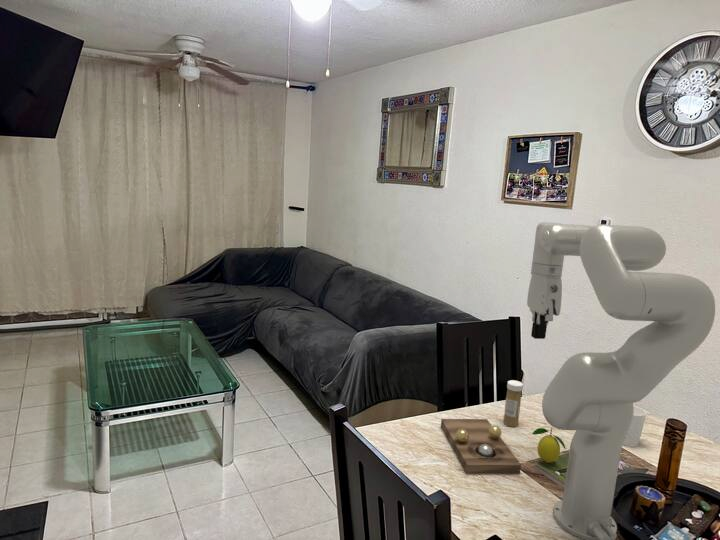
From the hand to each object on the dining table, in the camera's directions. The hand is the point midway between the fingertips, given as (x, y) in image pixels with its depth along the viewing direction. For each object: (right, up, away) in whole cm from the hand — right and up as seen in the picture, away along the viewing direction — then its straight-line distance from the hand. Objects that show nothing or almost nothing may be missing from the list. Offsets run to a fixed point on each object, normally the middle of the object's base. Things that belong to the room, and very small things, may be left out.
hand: (538, 337), depth 129 cm
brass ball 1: (-20, -27, +2) cm, 33 cm away
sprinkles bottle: (-1, -29, +19) cm, 35 cm away
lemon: (+2, -33, -1) cm, 33 cm away
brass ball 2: (-10, -27, +5) cm, 29 cm away
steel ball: (-15, -30, -2) cm, 33 cm away
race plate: (-15, -31, +4) cm, 35 cm away
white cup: (+30, -32, +13) cm, 46 cm away
